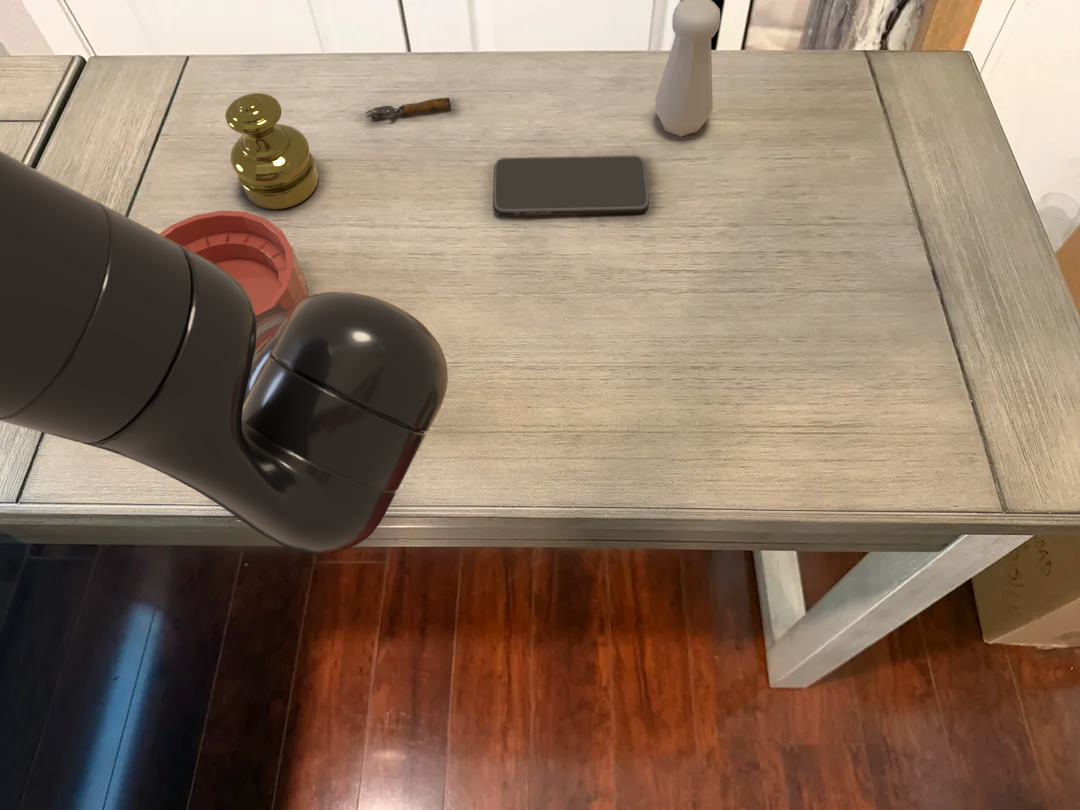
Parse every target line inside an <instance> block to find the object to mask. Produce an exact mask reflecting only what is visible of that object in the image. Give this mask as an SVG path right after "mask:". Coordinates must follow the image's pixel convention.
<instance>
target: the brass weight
mask: <svg viewBox="0 0 1080 810" xmlns="http://www.w3.org/2000/svg"><path fill="white" fill-rule="evenodd" d="M224 116H225V117H224V118H225V121H226V124H227V126H228V127H229V128H230V129H231V130H233V131H234V132H236V133H238V134H241V135H240V136H239V138H238V139H236V141H235V142H234V143H233V146H232V148H231V151H230V157H229V158H230V159H229V160H230V165H231V166H232V169H233V170H234V172H235V173H236V175H237V179H238V181H239V184H240V185H241V187H242V188H243V190H244V192H245V194H246V196H247V198H248V199H249V201H250V202H252V204H254V205H256V206H259V207H260V208H263V209H270V210H281V209H282V210H283V209H288V208H292V207H294V206H296V205H298V204H300V203H302V202H303V201H305V200H306V199H308V198H309V197H310V196H311V195H312V194H313V193H314V192H315V190H316V188H317V186H318V182H319V173H318V169H317V168H316V167H317V166H316V165H315V160H314V157H313V154H312V152H310V151H311V150H310V145H309V142H308V140H307V138H306V137H305V135H304V134H303V133H302V132H301V131H300V130H298V129H297V128H294V127H293V126H290V125H286V124H283V123H279V121H280V119H281V117H282V107H281V104H280V102H279V101H278V100H277V98H275V97H274V96H273V95H270V94H267V93H261V92H254V93H248V94H244V95H242V96H239V97H238V98H236V99H234V100H233V101H232V102H230V104H229V105H228V106H227V108H226V111H225V115H224Z"/></svg>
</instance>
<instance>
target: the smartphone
mask: <svg viewBox="0 0 1080 810" xmlns="http://www.w3.org/2000/svg"><path fill="white" fill-rule="evenodd" d="M492 196H493V197H492V207H493V210H494V212H495V213H496V214H497V215H499V216H502V217H503V216H514V217H518V216H555V215H557V216H559V215H563V216H564V215H604V214H606V215H608V214H641V213H644V212H646V211H647V209H648V208H649V205H650V198H649V196H650V195H649V186H648V178H647V168H646V162H645V160H644V159H643V157H641V156H638V155H599V156H598V155H596V156H594V155H593V156H591V155H588V156H535V157H534V156H531V157H529V156H528V157H501V158H499V159H497V160H496V162H495V164H494V165H493V193H492Z"/></svg>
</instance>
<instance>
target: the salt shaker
mask: <svg viewBox="0 0 1080 810" xmlns="http://www.w3.org/2000/svg"><path fill="white" fill-rule="evenodd" d="M720 9H721V8H719V6H718V5H717V4H716V3H715V2H714V1H713V0H681V1H680V2H678V4H677V5H676V6H675V7H674V9H673V13H672V17H671V18H672V20H671V23H672V24H671V25H672V31H673V33H674V34H675V36H674V40H673V42H672V45H671V49H670V52H669V55H668V57H667V60H666V64H665V67H664V70H663V73H662V76H661V80H660V82H659V86H658V89H657V91H656V95H655V98H654V99H655V102H654V103H655V105H654V106H655V107H654V108H655V112H656V115H657V116H658V119H659V121H660V122H661V124H662V126H663V129H664V131H665V132H667V133H669V134H671V135H676V136H678V137H685V136H689V135H691V134H695V133H697V132H698V131H699V130H700V129H701V128H702V127H703V125H704V124H705V123H706V122H707V120H708V118H709V116H710V115H711V113H712V111H713V108H714V107H713V105H714V104H713V102H714V101H713V65H712V64H713V62H712V61H713V60H712V38H714V36H715V35H716V34H717V32H718V30H719V28H720V24H721V10H720Z"/></svg>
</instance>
